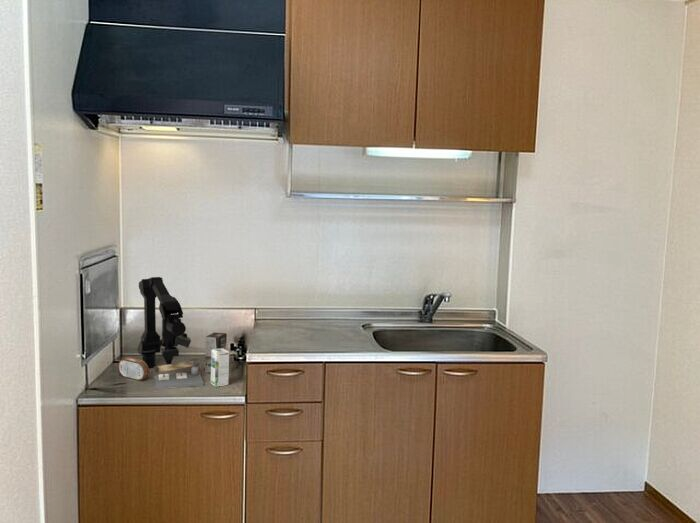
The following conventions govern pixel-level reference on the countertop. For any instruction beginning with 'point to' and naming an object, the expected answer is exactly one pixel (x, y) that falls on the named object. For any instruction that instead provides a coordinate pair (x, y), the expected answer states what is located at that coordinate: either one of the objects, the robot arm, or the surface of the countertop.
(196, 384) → the label board
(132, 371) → the tin
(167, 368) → the bar
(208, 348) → the coffee box
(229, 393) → the countertop surface
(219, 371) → the syrup box
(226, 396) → the countertop surface
